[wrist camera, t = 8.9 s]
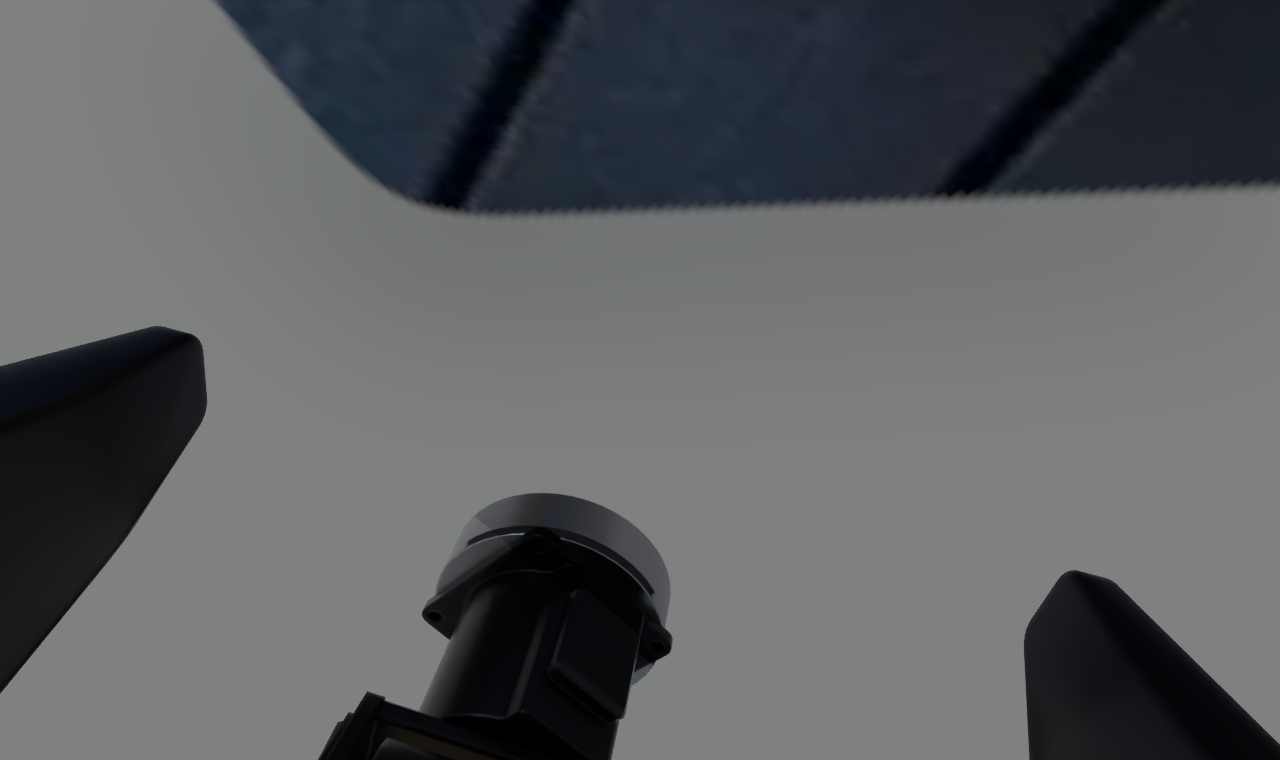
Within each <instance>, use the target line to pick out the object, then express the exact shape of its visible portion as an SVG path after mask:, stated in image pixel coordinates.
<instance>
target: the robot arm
mask: <svg viewBox="0 0 1280 760" xmlns="http://www.w3.org/2000/svg"><path fill="white" fill-rule="evenodd" d="M206 406H207V393H206V381H205V369H204V356H203V349H202V345H201V343H200V340H199V339H198V338H197V337H195V336H194V335H192V334H189V333H185V332H181V331H177V330H173V329H170V328H166V327H161V326H154V327H149V328H146V329H141V330H138V331H134V332H130V333H126V334H122V335H119V336H115V337H111V338H107V339H103V340H99V341H96V342H92V343H88V344H84V345H80V346H76V347H73V348H69V349H65V350H61V351H58V352H53V353H50V354H46V355H42V356H38V357H35V358H31V359H27V360H23V361H19V362H16V363H11V364H8V365H4V366H0V693H1V692H2V691H3V690H4V688H5V687H6V686H7V685H8V683H9V682H10V681H11V680H12V679H13V677H14V676H15V675H16V674H17V672H18V671H19V670H20V669H21V668H22V666H23V665H24V664H25V663H26V661H27V660H28V659H29V658H30V657H31V655H32V654H33V653H34V651H35V650H36V649H37V648H38V647H39V645H40V644H41V643H42V642H43V640H44V639H45V638H46V637H47V636H48V634H49V633H50V632H51V631H52V630H53V628H54V627H55V626H56V625H57V623H58V622H59V621H60V620H61V619H62V617H63V616H64V615H65V614H66V612H67V611H68V610H69V609H70V608H71V606H72V605H73V604H74V603H75V601H76V600H77V599H78V598H79V596H80V595H81V594H82V593H83V592H84V590H85V589H86V588H87V587H88V585H89V584H90V583H91V581H93V579H94V578H95V577H96V576H97V574H98V573H99V572H100V571H101V569H102V568H103V567H104V566H105V565H106V563H107V562H108V561H109V560H110V558H111V557H112V556H113V555H114V553H115V552H116V551H117V549H118V548H119V547H120V546H121V544H122V543H123V542H124V540H125V539H126V537H127V536H128V535H129V533H130V532H131V530H132V529H133V527H134V526H135V525H136V523H137V522H138V520H139V519H140V517H141V516H142V514H143V512H144V511H145V509H146V508H147V506H148V504H149V503H150V502H151V500H152V498H153V497H154V495H155V494H156V492H157V491H158V489H159V488H160V486H161V485H162V483H163V481H164V480H165V478H166V477H167V475H168V474H169V472H170V470H171V469H172V468H173V466H174V464H175V463H176V461H177V460H178V458H179V457H180V455H181V454H182V452H183V451H184V449H185V447H186V446H187V444H188V443H189V441H190V440H191V438H192V437H193V435H194V433H195V432H196V430H197V429H198V427H199V426H200V424H201V422H202V420H203V417H204V415H205V411H206ZM537 541H540V542H543V543H545V545H543V544H539V543H538V542H537ZM422 616H423V618H424V620H425V621H426V622H427V623H428V624H430V625H431V626H432V627H434V628H435V629H436V630H438V631H439V632H440V633H442V634H443V635H444V636H445V637H447V638H448V639H449V640H450V641H449V644H448V646H447V648H446V650H445V653H444V655H443V657H442V660H441V662H440V664H439V666H438V669H437V671H436V673H435V676H434V678H433V680H432V682H431V685H430V687H429V689H428V691H427V694H426V696H425V698H424V701H423V703H422V705H421V708H420V710H419V711H416V710H412V709H410V708H407V707H403V706H400V705H397V704H394V703H391V702H388V701H385V697H384V696H380V695H377V694H374V693H371V692H368V691H367V693H366V694H365V696H364V697H363V699H362V701H361V702H360V704H359V706H358V707H357V709H356V710H355V712H354V713H350V712H349V713H348V714H347V716H346V717H345V719H344V721H341V722H338V723H337V725H336V727H335V729H334V730H333V732H332V734H331V736H330V738H329V740H328V742H327V744H326V746H325V748H324V750H323V752H322V754H321V755H320V757H319V759H318V760H611V759H612V754H613V749H614V744H615V739H616V735H617V730H618V724H619V720H620V719H622V718H624V716H625V713H626V708H627V703H628V698H629V694H630V688H631V684H632V679H633V674H634V672H636V671H638V670H640V669H642V668H644V667H646V666H647V665H649V664H651V663H653V662H655V661H657V660H659V659H661V658H662V657H664V656H666V655H668V654H669V653H670V651H671V648H672V642H673V638H672V635H671V634H670V633H669V631H667V630H666V629H665V628H664V627H663V626H662V625H660V624H659V623H658V622H657V621H656V620H655V619H653V618H652V617H651V616H650V615H649V614H648V613H646V612H645V611H644V610H643V609H642V608H641V607H640V606H638V605H637V604H636V603H635V602H634V601H633V600H631V599H630V598H629V597H628V596H627V595H626V594H624V593H623V592H622V591H621V590H620V589H619V588H617V587H616V586H615V585H614V584H613V583H612V582H610V581H609V580H608V579H607V578H606V577H605V576H603V575H602V574H601V573H600V572H599V571H598V570H597V569H595V568H594V567H593V566H592V565H591V564H590V563H588V562H587V561H586V560H585V559H584V558H583V557H581V556H580V555H579V554H578V553H577V552H576V551H574V550H573V549H572V548H571V547H570V546H569V545H567V544H566V543H565V542H564V541H563V540H562V539H561V538H559V537H558V536H557V535H556V534H555V533H554V532H552V531H551V530H549V529H547V528H543V527H535V528H533V529H531V530H529V531H528V532H526V533H525V534H524V535H522V536H521V537H519V538H518V539H516V540H515V541H513V542H512V543H511V544H509V545H508V546H506V547H505V548H503V549H502V550H500V551H499V552H498V553H496V554H495V555H493V556H492V557H490V558H489V559H487V560H486V561H485V562H483V563H482V564H480V565H479V566H477V567H476V568H474V569H473V570H472V571H470V572H469V573H467V574H466V575H464V576H463V577H461V578H460V579H459V580H457V581H456V582H454V583H453V584H451V585H450V586H448V587H447V588H446V589H444V590H443V591H441V592H440V593H438V594H437V595H435V596H434V597H433V598H431V599H430V600H429V601H428V602H427V603H426V605H425V607H424V609H423V612H422ZM654 641H656V642H654ZM657 642H660V643H657ZM1024 658H1025V678H1026V698H1027V719H1028V739H1029V760H1280V744H1279V743H1278V742H1276V740H1275V739H1273V738H1272V737H1271V736H1270V735H1269V734H1268V733H1267V732H1266V731H1265V730H1264V729H1263V728H1262V727H1261V726H1260V725H1259V724H1258V723H1257V722H1256V721H1255V720H1254V719H1253V718H1252V717H1251V716H1250V715H1249V714H1248V713H1247V712H1246V711H1245V710H1244V709H1243V708H1242V707H1241V706H1240V705H1239V704H1238V703H1237V702H1236V701H1235V700H1234V699H1233V698H1232V697H1231V696H1230V695H1229V694H1228V693H1227V692H1225V690H1224V689H1222V688H1221V687H1220V685H1218V684H1217V683H1216V682H1215V681H1214V680H1213V679H1212V678H1211V677H1210V676H1209V675H1208V674H1207V673H1206V672H1205V671H1204V670H1203V669H1202V668H1201V667H1200V666H1199V665H1198V664H1197V663H1196V662H1195V661H1194V660H1193V659H1192V658H1191V657H1190V656H1189V655H1188V654H1187V653H1186V652H1185V651H1184V650H1183V649H1182V648H1181V647H1180V646H1179V645H1178V644H1177V643H1176V642H1175V641H1173V639H1172V638H1171V637H1170V636H1169V635H1168V634H1167V633H1166V632H1164V630H1162V629H1161V628H1160V627H1159V626H1158V625H1157V624H1156V623H1155V622H1154V621H1153V620H1152V619H1151V618H1150V617H1149V616H1148V615H1147V614H1146V613H1145V612H1144V611H1143V610H1142V609H1141V608H1140V607H1139V606H1138V605H1137V604H1136V603H1135V602H1134V601H1133V600H1132V599H1131V598H1130V597H1129V596H1128V595H1127V594H1126V593H1125V592H1124V591H1123V590H1122V589H1121V588H1120V587H1119V586H1118V585H1117V584H1116V583H1114V582H1113V581H1111V580H1109V579H1107V578H1103V577H1100V576H1096V575H1092V574H1088V573H1084V572H1081V571H1077V570H1076V571H1075V570H1073V571H1068V572H1066V573H1064V574H1063V575H1062V576H1061V577H1060V578H1059V579H1058V581H1057V582H1056V584H1055V585H1054V587H1053V588H1052V589H1051V591H1050V593H1049V594H1048V595H1047V597H1046V598H1045V600H1044V601H1043V603H1042V604H1041V606H1040V607H1039V609H1038V610H1037V612H1036V613H1035V615H1034V616H1033V617H1032V619H1031V621H1030V622H1029V625H1028V627H1027V629H1026V633H1025V639H1024Z"/></svg>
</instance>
